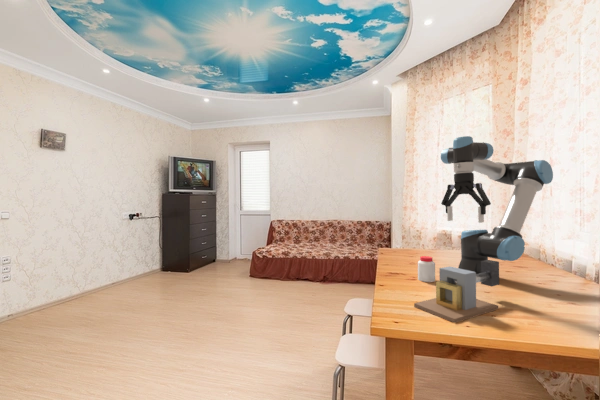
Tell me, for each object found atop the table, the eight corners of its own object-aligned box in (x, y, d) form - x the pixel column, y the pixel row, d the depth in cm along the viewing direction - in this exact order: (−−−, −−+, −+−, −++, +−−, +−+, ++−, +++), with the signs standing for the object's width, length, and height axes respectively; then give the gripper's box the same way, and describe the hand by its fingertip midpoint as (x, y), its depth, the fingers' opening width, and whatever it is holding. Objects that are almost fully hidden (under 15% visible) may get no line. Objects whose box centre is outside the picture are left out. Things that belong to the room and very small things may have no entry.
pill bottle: (437, 282, 138) (436, 259, 138) (419, 281, 139) (419, 258, 139) (433, 278, 145) (432, 255, 145) (416, 277, 147) (416, 255, 147)
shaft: (488, 282, 118) (488, 259, 118) (499, 284, 115) (499, 261, 115) (450, 291, 108) (450, 266, 108) (460, 294, 104) (460, 268, 104)
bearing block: (456, 295, 119) (456, 262, 119) (498, 309, 104) (498, 271, 104) (414, 306, 108) (413, 269, 108) (454, 322, 94) (454, 280, 93)
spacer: (441, 302, 109) (441, 280, 109) (462, 309, 101) (462, 286, 101) (436, 303, 107) (436, 281, 107) (456, 310, 100) (456, 287, 100)
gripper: (432, 175, 137) (433, 220, 137) (489, 170, 115) (491, 224, 116) (442, 175, 141) (443, 219, 141) (499, 170, 119) (500, 222, 119)
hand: (465, 221), depth 128 cm, fingers open, 13 cm apart
